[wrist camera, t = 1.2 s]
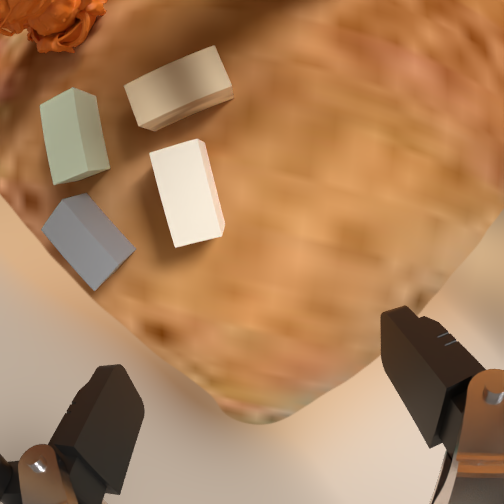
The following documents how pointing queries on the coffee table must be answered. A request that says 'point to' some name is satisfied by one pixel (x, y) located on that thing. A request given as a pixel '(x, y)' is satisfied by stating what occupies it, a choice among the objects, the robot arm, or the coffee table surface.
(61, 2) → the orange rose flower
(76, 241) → the slate brick
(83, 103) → the sage brick
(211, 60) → the oak brick
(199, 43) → the coffee table surface
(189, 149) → the cream brick
